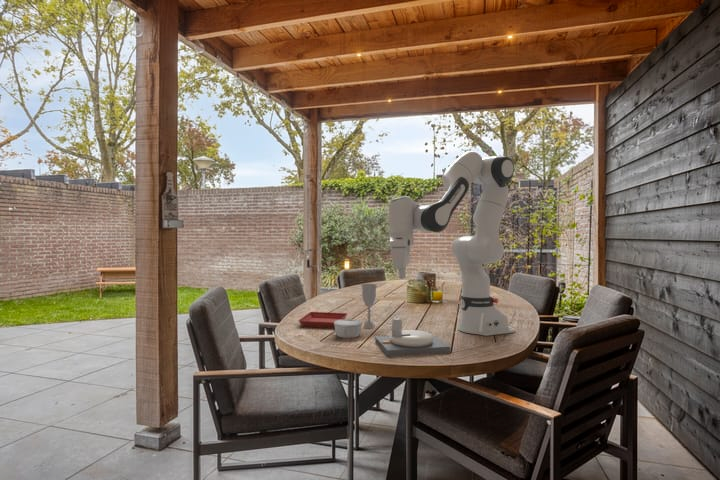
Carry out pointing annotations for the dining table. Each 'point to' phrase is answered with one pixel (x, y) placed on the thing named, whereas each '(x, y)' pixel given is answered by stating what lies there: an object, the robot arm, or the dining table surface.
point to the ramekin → (348, 328)
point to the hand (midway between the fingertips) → (402, 278)
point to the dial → (409, 336)
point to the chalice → (369, 301)
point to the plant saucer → (321, 319)
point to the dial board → (399, 350)
